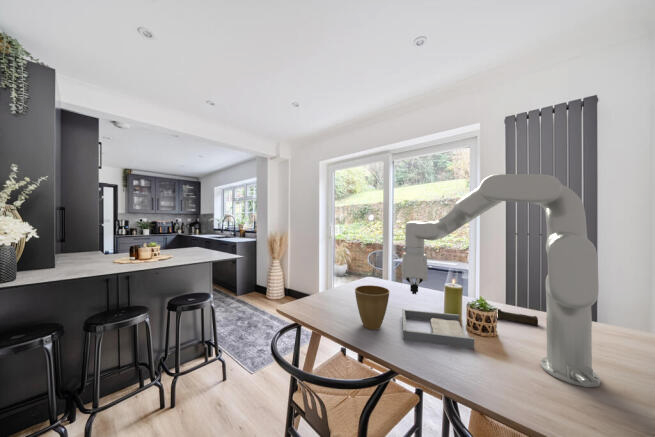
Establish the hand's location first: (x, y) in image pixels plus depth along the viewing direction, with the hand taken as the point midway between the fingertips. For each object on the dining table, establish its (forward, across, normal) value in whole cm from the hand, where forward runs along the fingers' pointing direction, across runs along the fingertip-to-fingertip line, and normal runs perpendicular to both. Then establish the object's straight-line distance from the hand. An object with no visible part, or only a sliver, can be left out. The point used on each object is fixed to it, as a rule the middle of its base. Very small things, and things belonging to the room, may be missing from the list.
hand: (414, 293), depth 101 cm
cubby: (+15, +8, 0) cm, 17 cm away
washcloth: (+15, +13, 0) cm, 20 cm away
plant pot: (+15, -17, -3) cm, 23 cm away
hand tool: (+15, +42, +19) cm, 49 cm away
